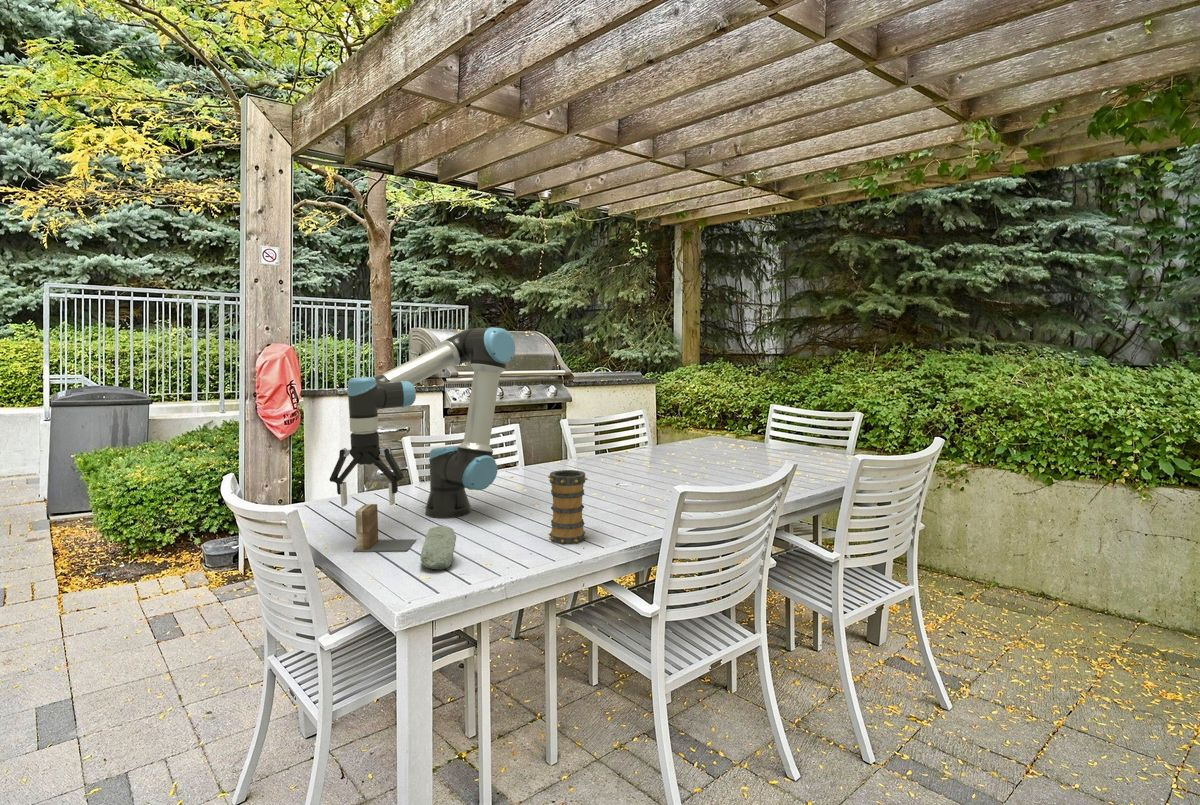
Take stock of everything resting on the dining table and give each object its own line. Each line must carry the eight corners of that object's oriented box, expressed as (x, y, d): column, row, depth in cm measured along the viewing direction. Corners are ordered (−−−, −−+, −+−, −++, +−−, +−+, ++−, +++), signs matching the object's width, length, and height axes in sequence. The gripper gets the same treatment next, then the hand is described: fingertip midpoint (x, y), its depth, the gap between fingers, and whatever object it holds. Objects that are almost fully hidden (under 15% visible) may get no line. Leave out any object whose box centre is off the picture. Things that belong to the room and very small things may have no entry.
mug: (540, 543, 183) (540, 476, 181) (557, 527, 200) (557, 465, 198) (582, 547, 180) (582, 479, 178) (596, 530, 197) (597, 467, 195)
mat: (416, 540, 186) (416, 539, 186) (407, 551, 176) (407, 550, 176) (365, 541, 185) (365, 539, 185) (353, 552, 175) (353, 550, 175)
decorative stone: (432, 553, 174) (414, 530, 169) (467, 540, 173) (450, 517, 168) (428, 590, 164) (408, 568, 158) (465, 577, 163) (447, 554, 157)
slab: (378, 540, 184) (377, 504, 183) (369, 549, 176) (368, 511, 175) (366, 540, 184) (365, 504, 183) (356, 549, 176) (355, 511, 175)
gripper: (412, 429, 181) (415, 500, 184) (325, 430, 180) (329, 502, 183) (405, 433, 174) (408, 507, 176) (314, 434, 173) (319, 509, 175)
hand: (368, 504), depth 179 cm, fingers open, 13 cm apart
